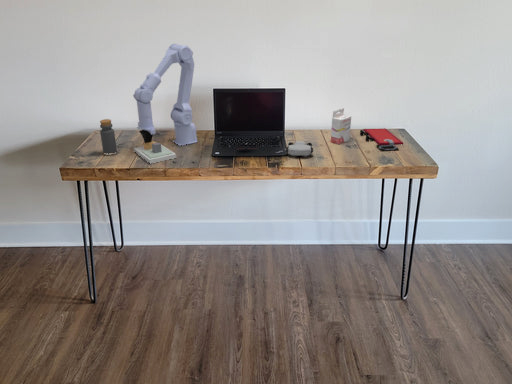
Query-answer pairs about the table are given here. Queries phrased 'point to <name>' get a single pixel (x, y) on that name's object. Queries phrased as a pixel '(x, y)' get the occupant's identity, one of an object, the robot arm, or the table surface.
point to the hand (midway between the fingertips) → (148, 145)
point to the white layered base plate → (153, 160)
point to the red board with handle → (382, 138)
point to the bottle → (107, 137)
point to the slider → (148, 145)
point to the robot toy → (299, 148)
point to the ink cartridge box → (340, 127)
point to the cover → (157, 151)
